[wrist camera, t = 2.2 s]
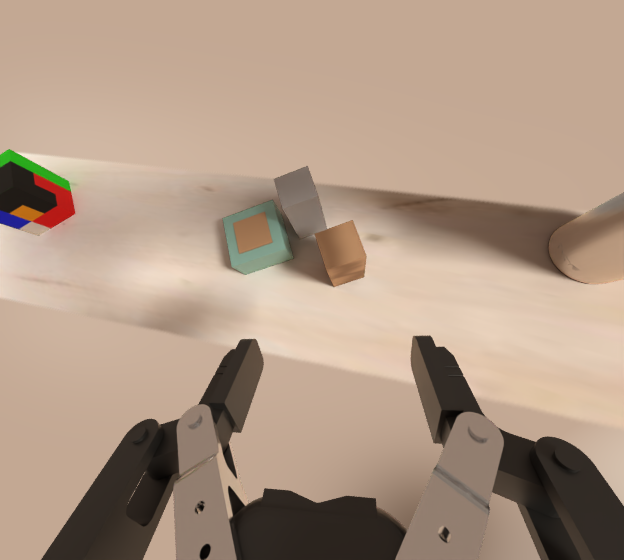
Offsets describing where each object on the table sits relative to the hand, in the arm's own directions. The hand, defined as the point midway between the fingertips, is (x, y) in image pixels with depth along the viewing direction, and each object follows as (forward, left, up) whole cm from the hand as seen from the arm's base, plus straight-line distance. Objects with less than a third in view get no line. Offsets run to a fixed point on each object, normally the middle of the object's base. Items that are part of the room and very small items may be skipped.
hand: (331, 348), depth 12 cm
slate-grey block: (0, -21, -24) cm, 32 cm away
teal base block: (+9, -20, -25) cm, 33 cm away
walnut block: (-3, -11, -24) cm, 27 cm away
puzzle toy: (+55, -47, -25) cm, 76 cm away
